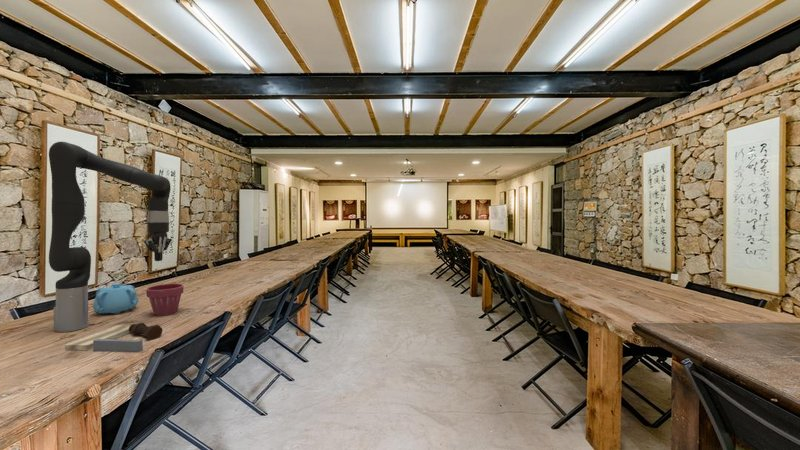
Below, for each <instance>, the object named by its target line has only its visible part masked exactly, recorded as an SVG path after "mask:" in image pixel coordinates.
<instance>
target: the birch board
mask: <svg viewBox="0 0 800 450" xmlns="http://www.w3.org/2000/svg"><path fill="white" fill-rule="evenodd" d="M130 325H131V324H130ZM130 325H125V324H123V325H121V324H117V325H115V326H112V327H109V328H107V329H104V330H101V331H98V332H96V333H92V334H91V335H87V336H84V337H82V338H80V339H77V340H74V341H71V342H69V343H66V344H64V350H65V351H89V350H92V349H93V340H96V339H120V338H122V337H123V336H126V335H129V334H131V333H132V332H131V331H129V327H131V326H130Z"/></svg>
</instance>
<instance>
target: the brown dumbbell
mask: <svg viewBox="0 0 800 450" xmlns="http://www.w3.org/2000/svg"><path fill="white" fill-rule="evenodd" d="M130 326H131V327H129V331H131V333H132V334H133V335H134V336H137V337H138V336H141V335H143V336H144V337H145V338H146V339H147V340H149V341H152V340H155V339H158V338H160V337H161V336H162V334H163V328H162V326H161V325H159V324H153V325H151V326H150V325H149V326H147V324H146V323H145V322H138V323H133V324H130Z"/></svg>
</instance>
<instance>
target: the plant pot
mask: <svg viewBox="0 0 800 450" xmlns="http://www.w3.org/2000/svg"><path fill="white" fill-rule="evenodd" d="M183 293H184V284H182V283H163V284H156V285H152V286H149V287H147V288H146V297H147V298H148V299H149V303H150V306H151V310H152V312H153V315H154V316H159V317H160V316H167V315H173V314H176V313H177V312H178V309H179V305H180V301H181V298H182V294H183Z"/></svg>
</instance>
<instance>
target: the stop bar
mask: <svg viewBox="0 0 800 450" xmlns="http://www.w3.org/2000/svg"><path fill="white" fill-rule="evenodd" d="M143 343H144V342H143V339H124V338H123V339H122V338H121V339H120V338H117V339H96V340H93V348H92V349H93V351H95V352H96V351H97V352H100V351H101V352H129V353H130V352H133V353H134V352H137V353H140V352H141V351H143V349H144V348H143V347H144V345H143Z"/></svg>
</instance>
